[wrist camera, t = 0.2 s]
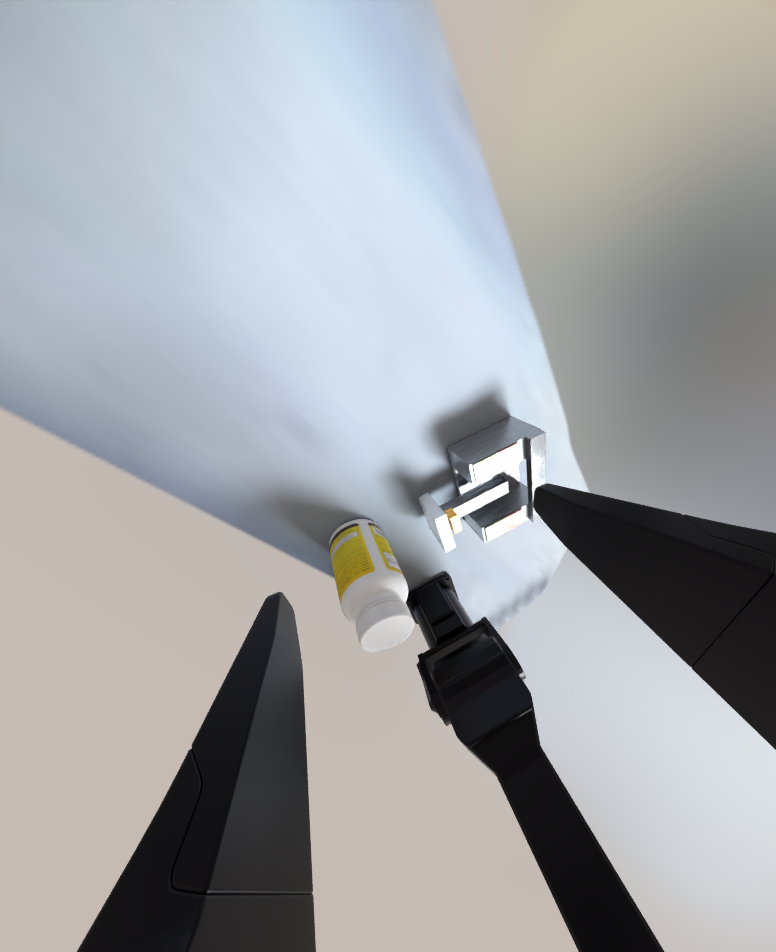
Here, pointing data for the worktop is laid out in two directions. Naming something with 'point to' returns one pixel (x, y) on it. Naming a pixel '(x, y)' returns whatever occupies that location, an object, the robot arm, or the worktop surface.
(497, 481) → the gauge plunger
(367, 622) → the supplement bottle
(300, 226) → the worktop surface
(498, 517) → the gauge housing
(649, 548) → the robot arm
